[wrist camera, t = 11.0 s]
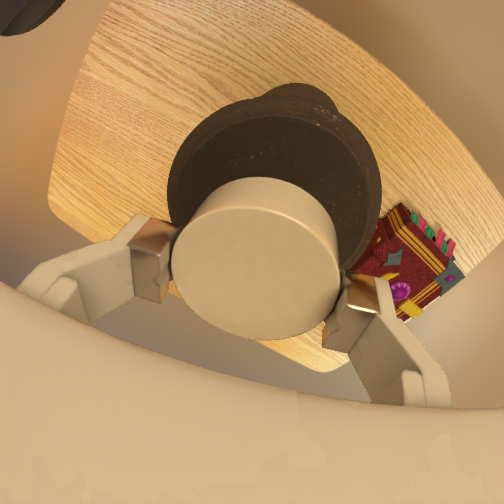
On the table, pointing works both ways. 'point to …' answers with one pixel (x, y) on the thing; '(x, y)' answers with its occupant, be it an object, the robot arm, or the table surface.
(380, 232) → the decorative book
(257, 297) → the beige cylinder disc
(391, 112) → the table surface
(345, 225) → the container
